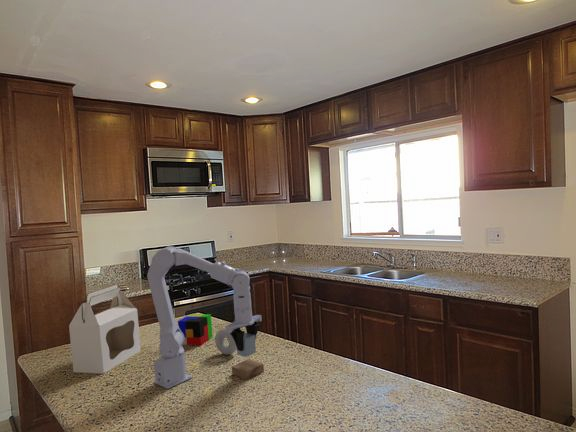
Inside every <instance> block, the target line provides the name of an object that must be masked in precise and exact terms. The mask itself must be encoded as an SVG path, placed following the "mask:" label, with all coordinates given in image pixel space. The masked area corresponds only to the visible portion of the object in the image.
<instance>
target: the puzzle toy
mask: <svg viewBox="0 0 576 432" xmlns="http://www.w3.org/2000/svg"><path fill="white" fill-rule="evenodd" d="M177 324H178V325H179V329H180V330H181V332H182V333H183V334H184V338H185V339H184V342H183V344H182V346H202V345H204V344H206V343H207V342H208V341H209V340H211V339H212V338H213V324H212V314H208V313H207V314H204V313H203V314H201V313H197V314H196V313H191V314H189V315H186V316H185V317H182V318H181V319H179V320H177Z"/></svg>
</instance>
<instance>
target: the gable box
mask: <svg viewBox="0 0 576 432" xmlns="http://www.w3.org/2000/svg"><path fill="white" fill-rule="evenodd" d="M110 299H112V300H111V304H110V307H109V308H108V309H105V310H102V311H100V312H97V313H95V312H94V310H93V308H92V306H94V305H97V304H99V303H102V302H105V301H108V300H110ZM138 315H139V314H138V309H137V307H136V306H135V305H134V304H133V303H132V301H131V300H130V299H129V298H128V297H127V296H126V294H124V292H123V291H122V290H121V287H118V285H117V284H113V285H110V286H108V287H103V288H101V289H98V290H95V291H91V292H89V293H87V294H86V296H85V302H83V303H81V305H80V306H79V307H78V309H77V311H76V313H75V315H74V316H73V318H72V320H71V321H70V323H69V325H68V329H69V331H68V332H69V339H70V350H71V360H72V369H73V370H72V371H73V373H80V374H81V373H83V374H97V375H98V374H99V375H103V374H106V373H107V372H109V371H110V370H112V369H113V368H115V367H117V366H118V365H120V364H122V363H124V362H125V361H126V360H128V359H130V358H131V357H133V356H135V355H136V354H138V353H139V352H141V339H140V329H139V328H140V327H139V316H138Z"/></svg>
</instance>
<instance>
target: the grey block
mask: <svg viewBox="0 0 576 432" xmlns="http://www.w3.org/2000/svg"><path fill="white" fill-rule="evenodd" d="M256 349H257V348H256V339H255V335H253V334H249V333H247V332H245V333H244V337H243V351H239V350H238V349H236V355H238V356H241V357H244V358H248V357H249V356H252V355H254V354H256V353H257V351H256Z"/></svg>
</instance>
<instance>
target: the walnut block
mask: <svg viewBox="0 0 576 432" xmlns="http://www.w3.org/2000/svg"><path fill="white" fill-rule="evenodd" d="M264 369H265V367H264V363H262V362H259V361H256V360H253V359H249V358H247V359H246V360H243V361H241V362H239V363H236V364H235V365H232V366H231V374H232V376H235V377H238V378H240V379H243V380H245V381H247V380H250V379H252V378H254V377H256V376H258V375H260V374H262V373H264V372H265V370H264Z"/></svg>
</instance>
